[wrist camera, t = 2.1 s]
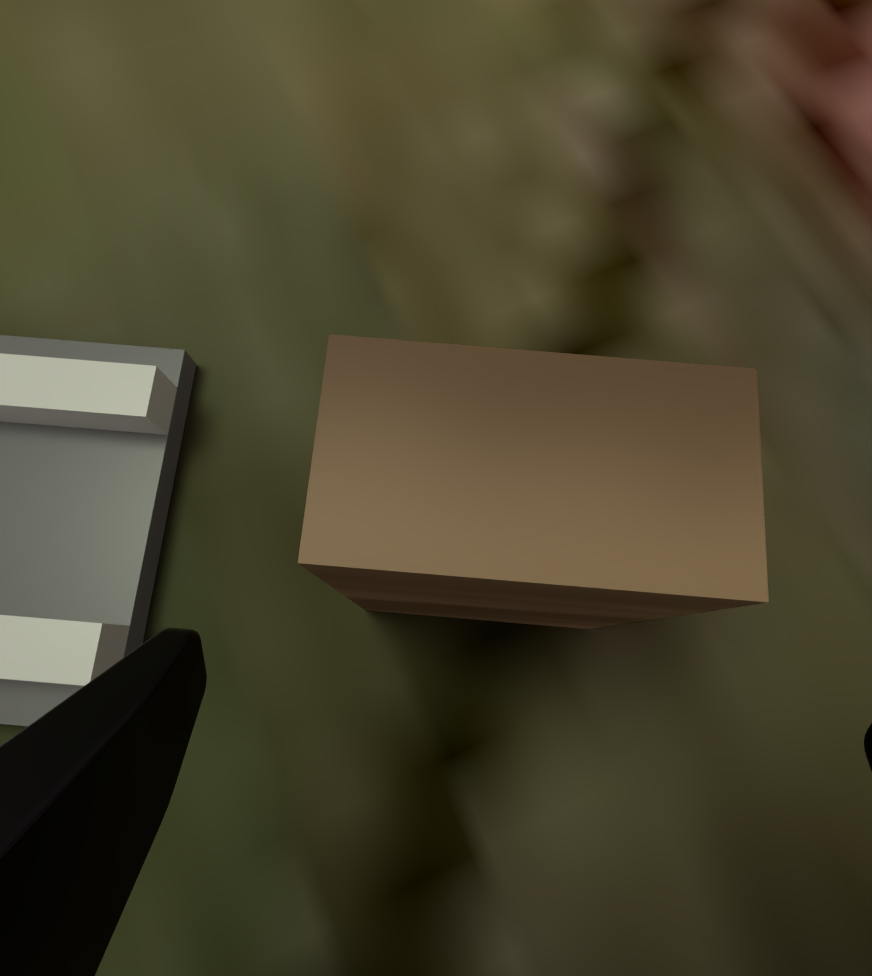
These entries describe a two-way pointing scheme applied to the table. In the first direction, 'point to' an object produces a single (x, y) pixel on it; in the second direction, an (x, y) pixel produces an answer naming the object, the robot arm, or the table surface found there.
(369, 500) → the wooden block
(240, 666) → the table surface
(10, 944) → the robot arm
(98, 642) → the track board
